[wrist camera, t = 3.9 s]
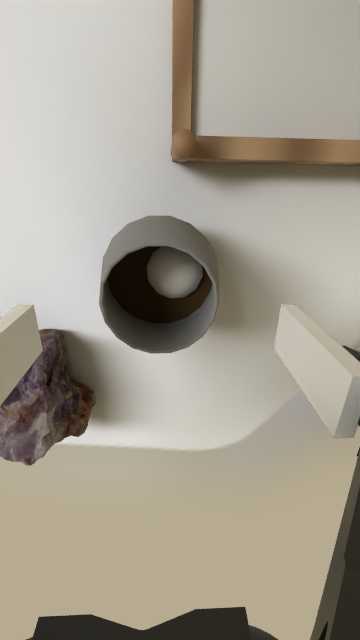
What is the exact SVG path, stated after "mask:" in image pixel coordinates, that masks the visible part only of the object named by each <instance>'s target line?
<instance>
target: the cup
mask: <svg viewBox="0 0 360 640" xmlns="http://www.w3.org/2000/svg"><path fill="white" fill-rule="evenodd" d="M218 302H219V299H218V270H217V261H216V256H215V254H214V252H213V250H212V248H211V246H210V244H209V242H208V240H207V239H206V237H205V236H203V235H202V234H201V233H200V232H199V231H198V230H197V229H196V228H195V227H193V226H192V225H191V224H190V223H187V222H184V221H182V220H179V219H177V218H174V217H171V216H147V217H144V218H142V219H139V220H137V221H134V222H131V223H129V224H127V225H126V226H125V227H124V228H123V229H122V230H121V231H120V232H119V233H118V234H116V235H115V236H114V237H113V238H112V240H111V242H110V244H109V247H108V249H107V251H106V253H105V255H104V257H103V264H102V275H101V285H100V299H99V304H100V308H101V311H102V314H103V317H104V321H105V323H106V324H107V325H108V327H109V328H110V329H111V331H112V332H113V333H114V334H115V336H116V337H117V338H118V339H120V340H121V341H123V342H124V343H126V344H127V345H129V346H130V347H132V348H134V349H138V350H141V351H145V352H148V353H172V352H175V351H178V350H181V349H184V348H186V347H189V346H190V345H191V344H193V343H194V342H196V341H197V340H198V339H200V338H201V337H202V336H203V335H204V334H205V333H206V331H207V330H208V328H209V327H210V325H211V324H212V322H213V321H214V318H215V314H216V310H217V306H218Z"/></svg>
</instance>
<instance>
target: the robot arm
mask: <svg viewBox="0 0 360 640" xmlns="http://www.w3.org/2000/svg"><path fill="white" fill-rule="evenodd" d="M274 350H275V352H276V353H277V354H278V356H279V357H280V359H281V360H282V362H283V363H284V365H285V366H286V368H287V369H288V371H289V372H290V374H291V375H292V377H293V378H294V380H295V381H296V383H297V384H298V386H299V387H300V389H301V390H302V392H303V393H304V395H305V396H306V397H307V399H308V400H309V402H310V403H311V405H312V406H313V408H314V409H315V411H316V412H317V414H318V415H319V417H320V418H321V420H322V421H323V423H324V424H325V425H326V427H327V429H328V430H329V431H330V433H331V435H332V436H333V437H334V438H350V437H354V435H355V432H356V429H357V427H358V425H359V426H360V354H359V353H358V352H356V351H355V350H353V349H351V348H349V347H347V346H341V345H340V344H339V343H338V342H337V341H336V340H334V339H333V338H332V337H331V336H330V335H329V334H328V333H327V332H325V331H324V330H323V329H322V328H321V327H320V326H319V325H318V324H316V323H315V322H314V321H313V320H312V319H311V318H310V317H309V316H307V315H306V314H305V313H304V312H303V311H302V310H301V309H300V308H299V307H297V306H296V305H295V304H281V309H280V315H279V320H278V326H277V332H276V338H275V344H274ZM42 351H43V349H42V344H41V339H40V334H39V329H38V324H37V319H36V314H35V309H34V305H17V306H16V307H15V308H13V309H12V310H11V311H10V312H8V313H7V314H6V315H4V316H3V317H2V318H1V319H0V406H1V405H2V403H3V402H4V401H5V399H6V398H7V397H8V395H9V394H10V393H11V391H12V390H13V389H14V388H15V386H16V385H17V384H18V382H19V381H20V380H21V378H22V377H23V376H24V375H25V373H26V372H27V371H28V369H29V368H30V367H31V365H32V364H33V363H34V361H35V360H36V359H37V358H38V356H39V355H40V354H41V352H42ZM357 456H358V459H357V463H356V467H355V471H354V475H353V479H352V483H351V486H350V490H349V494H348V498H347V502H346V506H345V509H344V513H343V517H342V521H341V525H340V529H339V533H338V537H337V540H336V545H335V548H334V552H333V556H332V560H331V564H330V568H329V571H328V575H327V580H326V583H325V587H324V591H323V595H322V599H321V602H320V606H319V610H318V614H317V618H316V622H315V625H314V629H313V632H312V635H311V638H310V640H360V448H359V451H358V454H357ZM26 640H278V639H277V638H275V637H274V636H272V635H271V634H269V633H267V632H265V631H263V630H261V629H259V628H256V627H253V626H250V625H248V620H247V614H246V609H245V607H234V608H213V609H195V610H193V611H191V612H188V613H186V614H183V615H181V616H178V617H176V618H174V619H171V620H169V621H166V622H164V623H162V624H159V625H157V626H154V627H152V628H150V629H147V630H137V629H134V628H131V627H128V626H125V625H121V624H118V623H116V622H112V621H109V620H106V619H103V618H100V617H97V616H94V615H69V616H49V617H39V619H38V622H37V625H36V629H35V632H34V635H33V637H31V638H29V639H26Z"/></svg>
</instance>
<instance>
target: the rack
mask: <svg viewBox="0 0 360 640" xmlns="http://www.w3.org/2000/svg"><path fill="white" fill-rule="evenodd" d="M193 19H194V0H173V91H172V147H171V155H172V161H177V162H180V163H182V162H185V161H193V162H238V163H283V164H327V165H360V140H331V139H294V138H256V137H219V136H195V135H194V133H193V132H192V131H191V94H192V57H193Z"/></svg>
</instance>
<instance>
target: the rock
mask: <svg viewBox="0 0 360 640" xmlns="http://www.w3.org/2000/svg"><path fill="white" fill-rule="evenodd" d="M39 334H40V339H41V344H42V349H43V351H42V352H41V354H40V355H39V356H38V358H37V359H36V360H35V361H34V363H33V364H32V365H31V367H30V368H29V369H28V371H27V372H26V373H25V375H24V376H23V377H22V378H21V380H20V381H19V382H18V384H17V385H16V386H15V388H14V389H13V390H12V391H11V393H10V394H9V395H8V397H7V398H6V399H5V401H4V402H3V403H2V405H1V406H0V456H1V457H3V458H4V459H6V460H9V461H13V462H22V463H24V464H25V465H32V464H34V463H35V462H36V461H37V459H39V458H42V457H44V456H45V454H46V452H47V451H48V450H49V449H50V447H51V446H53V445H54V444H55V443H57V442H60V441H62V440H63V439H64V438H66V437H69V436H77V437H79V436H80V435H82V434H83V433H84V432H85V430H86V428H87V425H88V420H89V416H90V412H91V409H92V407H93V406H94V405H95V402H96V401H95V399H96V397H95V396H94V394H93V391H91V390H89V389H88V388H87V387H86V386H84V385H81V384H77V383H76V382H75V381H74V380H72V379H69V376H70V364H69V362H68V361H67V360H66V355H65V352H66V351H67V350H66V346H65V344H64V342H63V337H62V334H61V333H60V332H58V331H57V330H51V329H43V330H39Z"/></svg>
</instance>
